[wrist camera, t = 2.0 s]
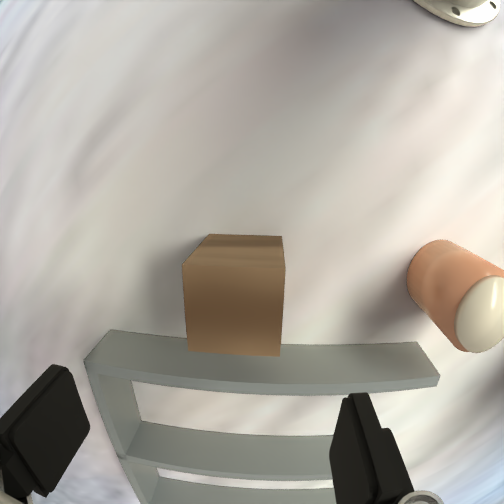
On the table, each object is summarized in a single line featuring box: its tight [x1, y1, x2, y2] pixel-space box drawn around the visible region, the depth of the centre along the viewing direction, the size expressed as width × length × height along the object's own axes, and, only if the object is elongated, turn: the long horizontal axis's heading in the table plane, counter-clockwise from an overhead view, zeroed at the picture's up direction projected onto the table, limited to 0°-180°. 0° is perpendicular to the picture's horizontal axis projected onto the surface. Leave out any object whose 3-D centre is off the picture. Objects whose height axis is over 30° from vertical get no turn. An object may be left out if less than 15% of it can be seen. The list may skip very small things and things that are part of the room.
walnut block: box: [182, 234, 285, 357], centre depth 19 cm, size 5×5×7 cm
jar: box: [407, 240, 504, 353], centre depth 18 cm, size 6×6×8 cm
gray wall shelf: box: [83, 330, 440, 504], centre depth 25 cm, size 23×26×5 cm
